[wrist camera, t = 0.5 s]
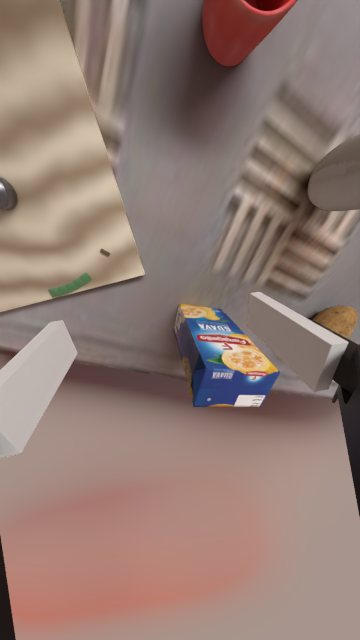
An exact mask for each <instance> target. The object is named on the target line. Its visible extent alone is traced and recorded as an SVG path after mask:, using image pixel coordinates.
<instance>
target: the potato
mask: <svg viewBox="0 0 360 640" xmlns="http://www.w3.org/2000/svg"><path fill="white" fill-rule="evenodd" d="M313 321H316V322H318V323H320V324H322V325H323V326H325V327H327V328H329V329H331V330H332V331H334V332H336V333H338V334H340V335H342V336H343V337H345V338H347V339H348V338H349V337H350V335H351V333H352V331H353V329H354V328H355V326H356V324H357V322H358V315H357V311H356V310H355V309H354V308H353V307H348V306H339V305H338V306H335V307H331V308H327V309H325V310H323V311H321V312H320V313H319V314H317V315H316V316H315V317H314V319H313Z"/></svg>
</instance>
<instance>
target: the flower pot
mask: <svg viewBox="0 0 360 640" xmlns="http://www.w3.org/2000/svg"><path fill="white" fill-rule="evenodd" d="M297 1H298V0H204V5H203V33H204V38H205V42H206V45H207V48H208V50H209V52H210V54H211V55H212V57H213V58H214V59H215V60H216V61H217V62H218V63H219V64H221V65H223V66H235V65H237V64H239V63H240V62H242V61H243V60H244V59H245V58H246V57H247V56H248V55H249V54H250V53H251V52H252V51H253V50H254V49H255V47H256V46H257V45H258V44H259V43H260V42H261V41H262V40H263V39H264V38H265V37H266V36H267V35H268V34H269V33H270V32H271V30H272V29H273V28H274V27H275V26H276V25H277V24H278V23H279V22H280V20H281V19H282V18H283V17H284V16H285V15H286V14H287V13H288V11H289V10H290V9H291V8H292V7H293V6H294V4H295V3H296V2H297Z"/></svg>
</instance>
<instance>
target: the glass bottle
mask: <svg viewBox="0 0 360 640" xmlns="http://www.w3.org/2000/svg"><path fill="white" fill-rule="evenodd" d="M308 197H309V199H310V201H311V202H312V203H313V204H314V205H315V206H316V207H318V208H320V209H322V210H326V211H346V210H357V209H360V134H359V135H357V136H355V137H353V138H351V139H349V140H347V141H345V142H344V143H342V144H340V145H339V146H337V147H336V148H334V149H333V150H332V151H330V152H329V153H328V154H327V155H326V156H325V157H324V158H323V159H322V160H321V161H320V162H319V163H318V164H317V166H316V167H315V169H314V170H313V172H312V174H311V177H310V180H309V184H308Z"/></svg>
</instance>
